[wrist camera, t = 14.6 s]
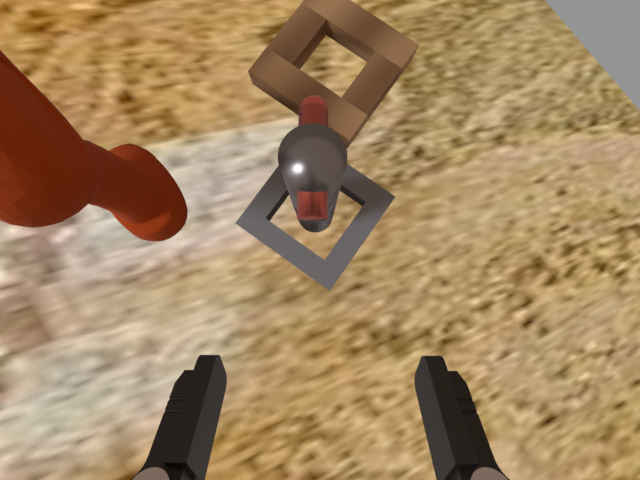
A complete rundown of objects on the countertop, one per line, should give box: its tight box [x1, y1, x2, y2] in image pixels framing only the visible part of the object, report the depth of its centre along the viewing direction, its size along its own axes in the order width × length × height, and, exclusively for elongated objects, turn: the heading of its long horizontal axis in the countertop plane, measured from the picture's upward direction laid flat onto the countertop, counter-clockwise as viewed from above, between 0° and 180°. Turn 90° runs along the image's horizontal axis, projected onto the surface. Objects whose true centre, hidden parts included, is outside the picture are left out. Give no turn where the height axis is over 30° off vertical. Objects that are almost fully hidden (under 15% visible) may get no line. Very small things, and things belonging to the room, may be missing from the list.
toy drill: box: [0, 50, 188, 241], centre depth 17 cm, size 5×19×15 cm, turn 39°
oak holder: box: [248, 0, 419, 148], centre depth 24 cm, size 9×9×2 cm
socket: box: [236, 164, 395, 291], centre depth 23 cm, size 8×8×2 cm
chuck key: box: [278, 95, 348, 233], centre depth 18 cm, size 5×3×12 cm, turn 0°
